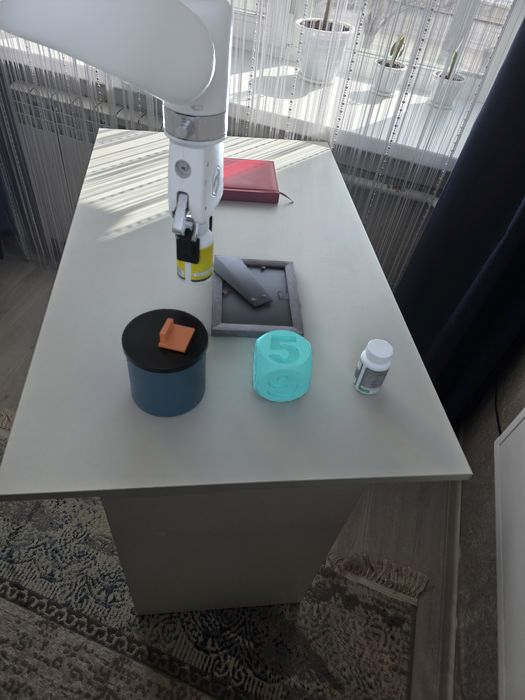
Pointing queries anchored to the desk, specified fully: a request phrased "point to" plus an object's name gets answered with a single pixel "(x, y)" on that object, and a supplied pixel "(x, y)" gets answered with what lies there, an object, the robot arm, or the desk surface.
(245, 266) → the picture frame
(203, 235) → the supplement bottle
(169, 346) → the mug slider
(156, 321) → the travel mug
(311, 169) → the desk surface
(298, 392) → the decorative dice
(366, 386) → the pill bottle
